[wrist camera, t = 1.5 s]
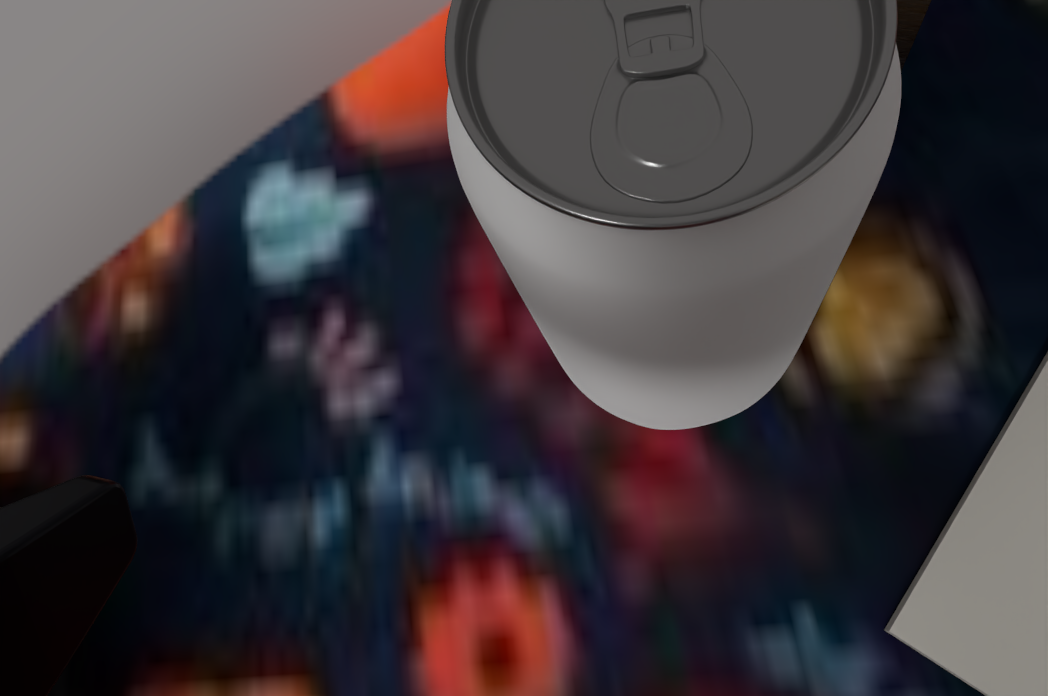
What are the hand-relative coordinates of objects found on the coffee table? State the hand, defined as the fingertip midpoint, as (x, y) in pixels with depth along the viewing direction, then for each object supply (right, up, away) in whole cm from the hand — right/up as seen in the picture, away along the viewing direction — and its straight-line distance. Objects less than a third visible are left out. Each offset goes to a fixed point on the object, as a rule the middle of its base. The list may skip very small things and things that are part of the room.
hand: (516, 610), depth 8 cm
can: (+4, +4, +14) cm, 15 cm away
